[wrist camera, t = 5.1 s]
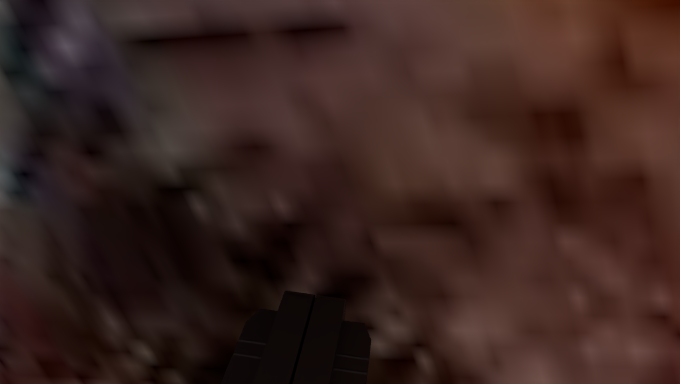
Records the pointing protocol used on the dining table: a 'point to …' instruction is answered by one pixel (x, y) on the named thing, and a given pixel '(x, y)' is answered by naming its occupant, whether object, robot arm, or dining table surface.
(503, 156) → the dining table surface
